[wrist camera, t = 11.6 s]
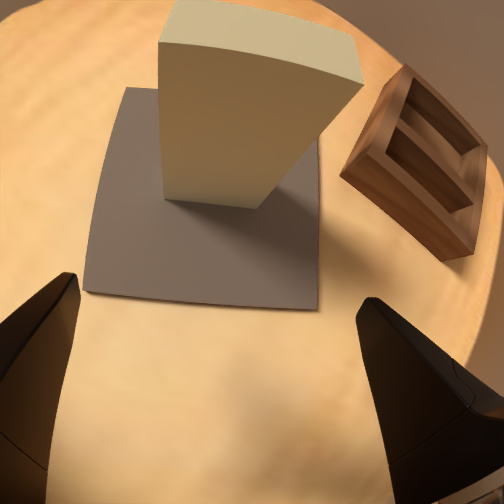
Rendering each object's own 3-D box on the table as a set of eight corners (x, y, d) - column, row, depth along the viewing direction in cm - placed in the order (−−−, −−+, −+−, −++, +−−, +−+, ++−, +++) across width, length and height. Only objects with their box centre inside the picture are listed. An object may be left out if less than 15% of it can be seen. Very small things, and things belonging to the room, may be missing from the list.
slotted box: (441, 261, 24) (473, 254, 20) (339, 175, 23) (366, 153, 19) (463, 158, 28) (487, 145, 24) (384, 84, 27) (405, 63, 23)
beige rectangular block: (256, 209, 20) (364, 84, 8) (163, 199, 19) (158, 41, 7) (257, 174, 21) (352, 35, 8) (169, 163, 19) (177, -3, 7)
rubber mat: (313, 309, 21) (316, 309, 20) (84, 290, 17) (82, 290, 17) (313, 118, 23) (315, 115, 23) (126, 91, 20) (126, 87, 20)
